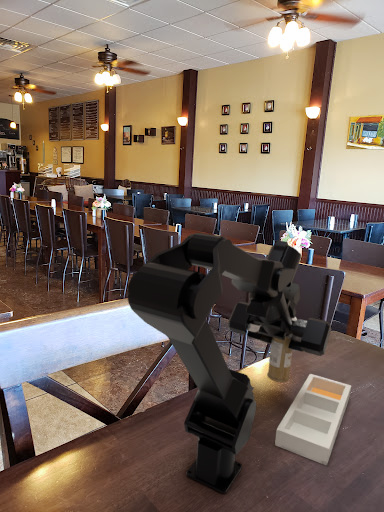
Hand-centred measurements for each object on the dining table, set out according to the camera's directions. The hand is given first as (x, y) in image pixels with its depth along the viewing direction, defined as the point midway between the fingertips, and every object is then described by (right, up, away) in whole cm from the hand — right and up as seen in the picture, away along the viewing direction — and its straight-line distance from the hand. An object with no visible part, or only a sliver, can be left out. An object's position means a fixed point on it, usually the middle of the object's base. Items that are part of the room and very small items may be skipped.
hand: (284, 345), depth 81 cm
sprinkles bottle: (-1, -7, 0) cm, 7 cm away
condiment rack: (+4, -12, -7) cm, 15 cm away
